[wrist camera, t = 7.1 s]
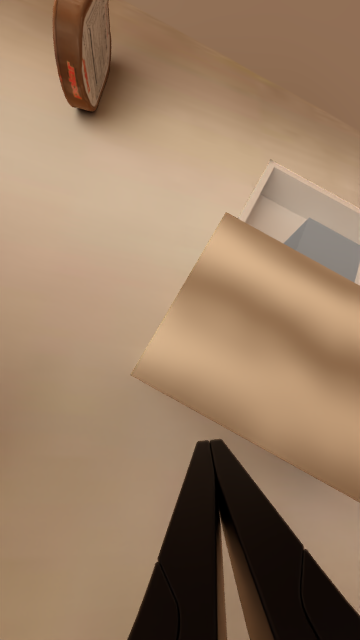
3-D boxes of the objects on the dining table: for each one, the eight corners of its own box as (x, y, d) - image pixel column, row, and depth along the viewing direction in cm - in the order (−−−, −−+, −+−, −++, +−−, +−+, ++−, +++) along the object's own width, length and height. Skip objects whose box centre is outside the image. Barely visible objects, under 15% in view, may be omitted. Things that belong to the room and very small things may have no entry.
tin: (96, 54, 31) (78, -61, 23) (118, 60, 31) (108, -51, 23) (69, 124, 26) (36, 12, 18) (95, 130, 27) (73, 23, 19)
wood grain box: (329, 484, 19) (450, 553, 11) (137, 377, 19) (130, 375, 12) (358, 354, 23) (461, 341, 16) (200, 267, 23) (226, 212, 16)
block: (348, 305, 18) (363, 247, 20) (287, 272, 18) (309, 217, 20) (306, 321, 23) (322, 272, 25) (258, 294, 23) (278, 248, 25)
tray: (349, 355, 23) (389, 350, 19) (205, 276, 23) (217, 255, 19) (373, 255, 28) (408, 235, 24) (253, 189, 28) (270, 159, 24)
